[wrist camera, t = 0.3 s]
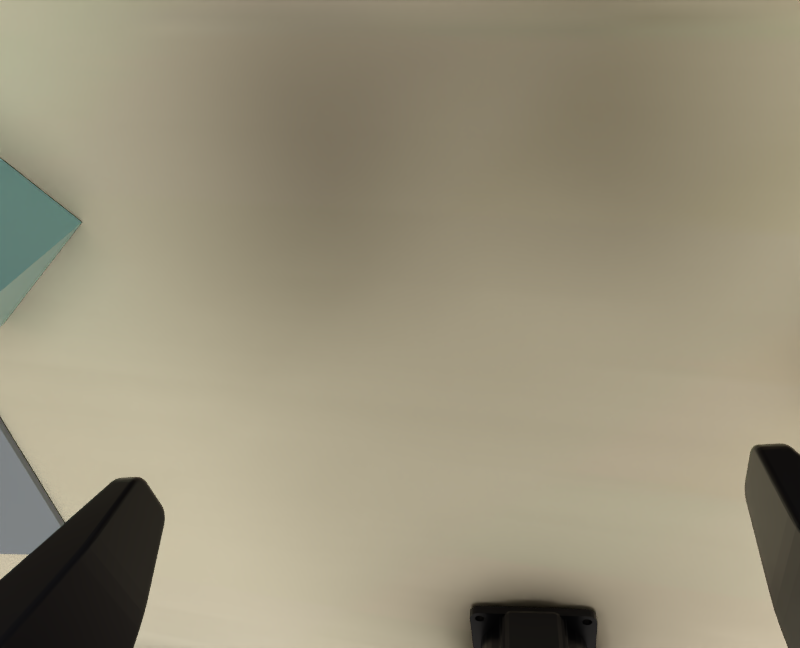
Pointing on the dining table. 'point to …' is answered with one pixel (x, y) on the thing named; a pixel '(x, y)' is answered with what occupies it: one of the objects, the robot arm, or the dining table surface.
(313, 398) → the dining table surface
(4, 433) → the slate mat
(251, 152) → the dining table surface
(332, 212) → the dining table surface
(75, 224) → the teal rectangular block
